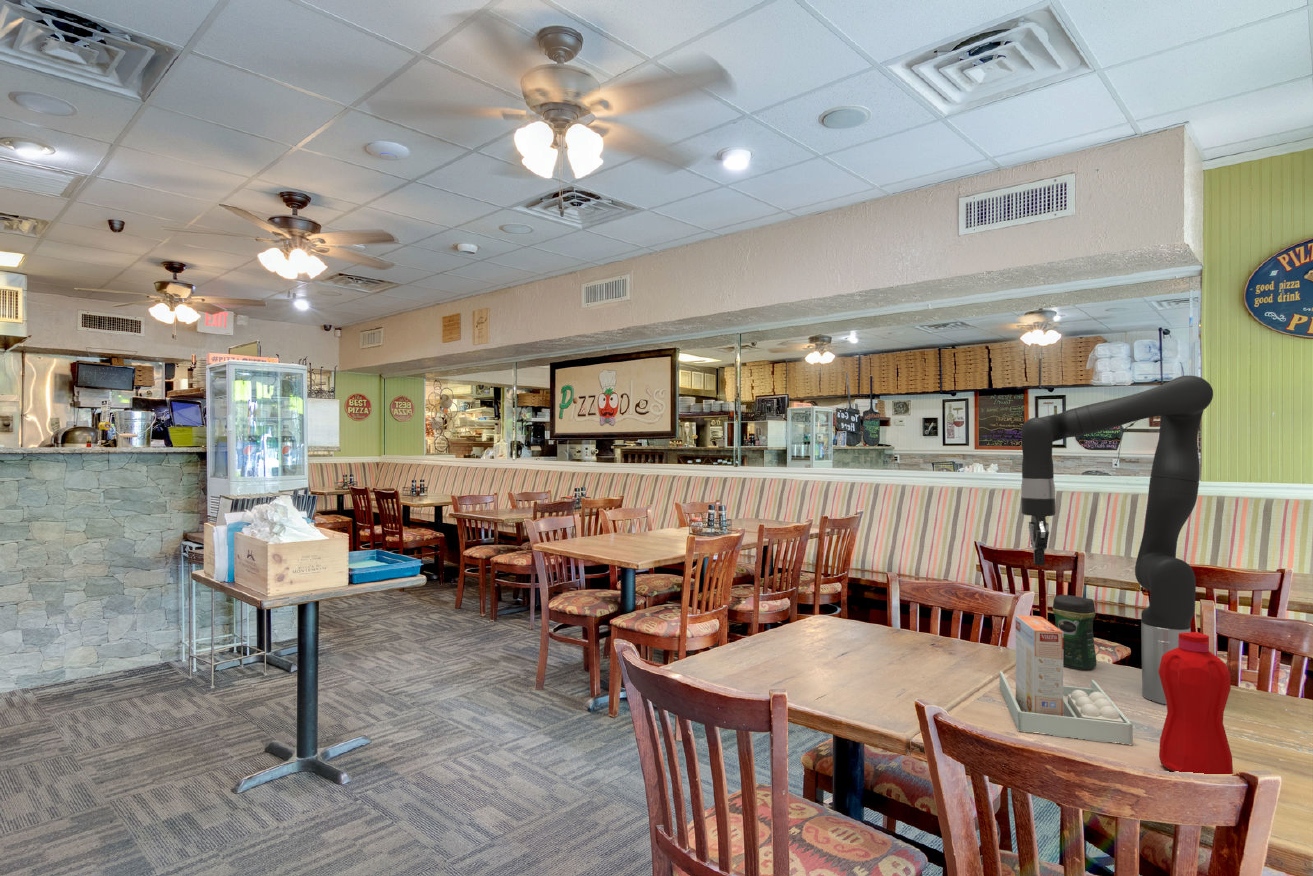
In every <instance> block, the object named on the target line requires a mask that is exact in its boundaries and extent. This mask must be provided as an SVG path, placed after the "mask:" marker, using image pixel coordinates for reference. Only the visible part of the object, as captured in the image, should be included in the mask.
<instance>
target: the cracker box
mask: <svg viewBox="0 0 1313 876" xmlns="http://www.w3.org/2000/svg"><path fill="white" fill-rule="evenodd" d="M1063 686H1064V666H1063V632H1062V631H1061V630H1060V629H1058V628H1057V627H1056V625H1055V624H1053V623H1052V622H1050V621H1048V620H1047V619H1046V618H1044V617H1043V616H1039V615H1020V614H1018V615H1017V614H1016V615H1015V699H1016V702H1017V704H1018V706H1019V708H1020V710H1021V711H1022V712H1030V713H1039V714H1048V715H1057V716H1064V715H1063V697H1064V695H1063Z"/></svg>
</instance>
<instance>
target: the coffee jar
mask: <svg viewBox="0 0 1313 876" xmlns="http://www.w3.org/2000/svg"><path fill="white" fill-rule="evenodd" d="M1052 612H1053V615H1054V621H1055V627H1057V628H1058V629H1060V630H1061V631H1062V632H1063V667H1066V666H1067V668H1070V667H1071V669H1075V670H1076V669H1077V670H1090V671H1091V670H1093V669H1095V668H1096V666H1097V653H1096V646H1095V639H1094V631H1093V630H1094V629H1093V627H1094V626H1093V625H1094V618H1095V617H1096V607H1095V603H1094V600H1093V599H1092V598H1087V597H1082V596H1081V597H1080V596H1078V595H1077V596H1076V595H1069V594H1059V595H1056V596H1054V598H1053V605H1052Z"/></svg>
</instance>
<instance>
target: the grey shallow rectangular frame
mask: <svg viewBox="0 0 1313 876" xmlns="http://www.w3.org/2000/svg"><path fill="white" fill-rule="evenodd" d="M998 672H999V674H998V676H999V677H998V678H999V689H1000V692H1001V695H1002V697H1003V698H1004V702H1005V704H1006V706H1007V708H1008V711H1009V710H1010V711H1009V713H1010V715H1011V717H1012V720H1013V719H1014V720H1013V722H1014V724H1015V723H1016V725H1015V726H1017V727H1016V729H1017V728H1018V729H1017V731H1018V730H1019V731H1025V732H1039V733H1045V734H1050V735H1053V736H1052V737H1059V738H1066V737H1071V738H1070V739H1074V738H1078V739H1077V740H1083V739H1085V741H1091V742H1100V743H1107V742H1117V743H1118V742H1119V743H1124V744H1131V745H1130V746H1132V745H1133V743H1134V742H1133V738H1134V737H1133V736H1134V735H1133V724H1132V723H1131V722H1130V721H1129V719H1128V718H1127V716H1125V715H1124V713H1123V712H1122V711H1121V710H1120V709H1119V708H1118V706H1117V705H1116V704H1115V703H1114V702H1113V700H1112V699H1111V698H1110V697H1109V696H1108V694H1107V693H1106V692H1105V691H1104V690H1103V689H1102V688H1101V686H1100V685H1099V684H1098V683H1097V682H1096V681H1095V680H1094V679H1090V687H1082V686H1081V687H1080V686H1072V685H1071V686H1070V685H1063V714H1064V715H1063V716H1057V715H1048V714H1039V713H1030V712H1022V711H1021V710H1020V708H1019V706H1018V704H1017V702H1016V696H1014V695H1015V694H1014V693H1013V691H1012V688H1011V687H1010V685H1009V682H1008V680H1007V678H1006V676H1005V674H1004V672H1003V671H1002V670H999V671H998ZM1075 690H1082V691H1084V692H1085V693H1086V694H1087V695H1088V696H1089V695H1090V694H1091V693H1093V692H1101V693H1102V694H1104V695H1105V696H1106V698H1107V700H1108V701H1110V702H1111V704H1112V705H1113V708H1115V709H1116V710H1117V711H1118V713H1119V716H1120V718H1121V719H1122V720H1123V722H1124V723H1119V722H1110V721H1102V720H1093V719H1084V718H1078V717H1077V716H1076V715H1075V713H1074V712H1073V710H1072V709H1071V707H1070V706H1069V704H1068V700H1066V698H1065V697H1064V696H1068V694H1071V693H1072V692H1073V691H1075ZM1019 731H1018V732H1019ZM1025 732H1024V733H1025ZM1050 735H1049V736H1050ZM1124 744H1123V745H1124Z"/></svg>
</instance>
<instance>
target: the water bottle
mask: <svg viewBox="0 0 1313 876" xmlns="http://www.w3.org/2000/svg"><path fill="white" fill-rule="evenodd" d="M1178 646H1179V647H1177V648H1175V649H1173V650H1170V651H1168V652H1167V653H1165V654H1164V655H1163V656H1162V658H1161V662H1160V666H1159V670H1158V672H1159V676H1160V679H1161V683H1162V687H1163V691H1164V694H1165V698H1166V702H1167V704H1166V717H1165V719H1164V722H1163V723H1164V724H1163V726H1162V730H1161V735H1160V737H1159V748H1158V749H1159V750H1158V751H1159V753H1158V757H1159V761H1160V764H1161V765H1162V766H1164V768H1165V767H1166V769H1167V768H1168V770H1169V771H1171V772H1173V771H1179V772H1193V773H1204V774H1234V768H1233V767H1234V766H1233V756H1232V755H1233V754H1232V751H1231V747H1230V743H1229V741H1228V736H1227V733H1226V729H1225V726H1224V712H1225V710H1226V707H1227V703H1228V699H1229V696H1230V692H1231V685H1232V684H1231V679H1232V677H1231V672H1230V669H1229V668H1228V666H1227V664H1226V663H1225V662H1224V661H1223V660H1222V659H1221V658H1220V657H1218V655H1215V654H1214V653H1212V652H1211V651H1210V635H1208V634H1205V633H1201V632H1197V631H1191V632H1190V633H1179V637H1178Z"/></svg>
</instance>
